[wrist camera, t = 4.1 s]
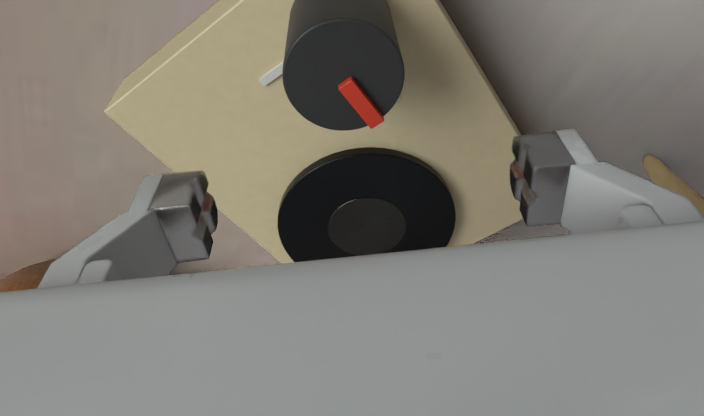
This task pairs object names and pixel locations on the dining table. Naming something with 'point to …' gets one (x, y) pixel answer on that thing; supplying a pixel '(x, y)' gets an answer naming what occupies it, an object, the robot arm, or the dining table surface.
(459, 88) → the hob
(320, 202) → the burner
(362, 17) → the hob knob
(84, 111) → the dining table surface
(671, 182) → the ice cream cone
